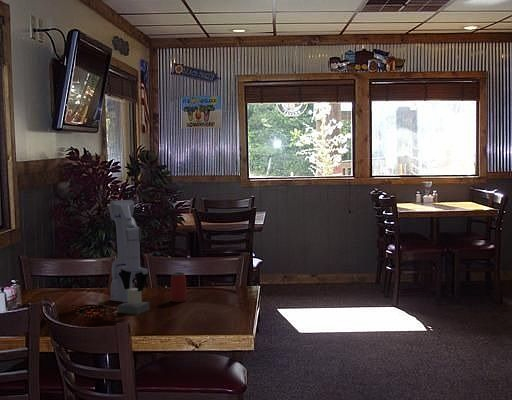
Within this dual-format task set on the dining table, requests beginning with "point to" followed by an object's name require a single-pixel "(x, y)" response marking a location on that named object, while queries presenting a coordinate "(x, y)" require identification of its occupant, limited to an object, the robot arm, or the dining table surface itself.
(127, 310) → the plate
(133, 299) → the cream block
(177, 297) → the beer can
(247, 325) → the dining table surface
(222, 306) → the dining table surface
